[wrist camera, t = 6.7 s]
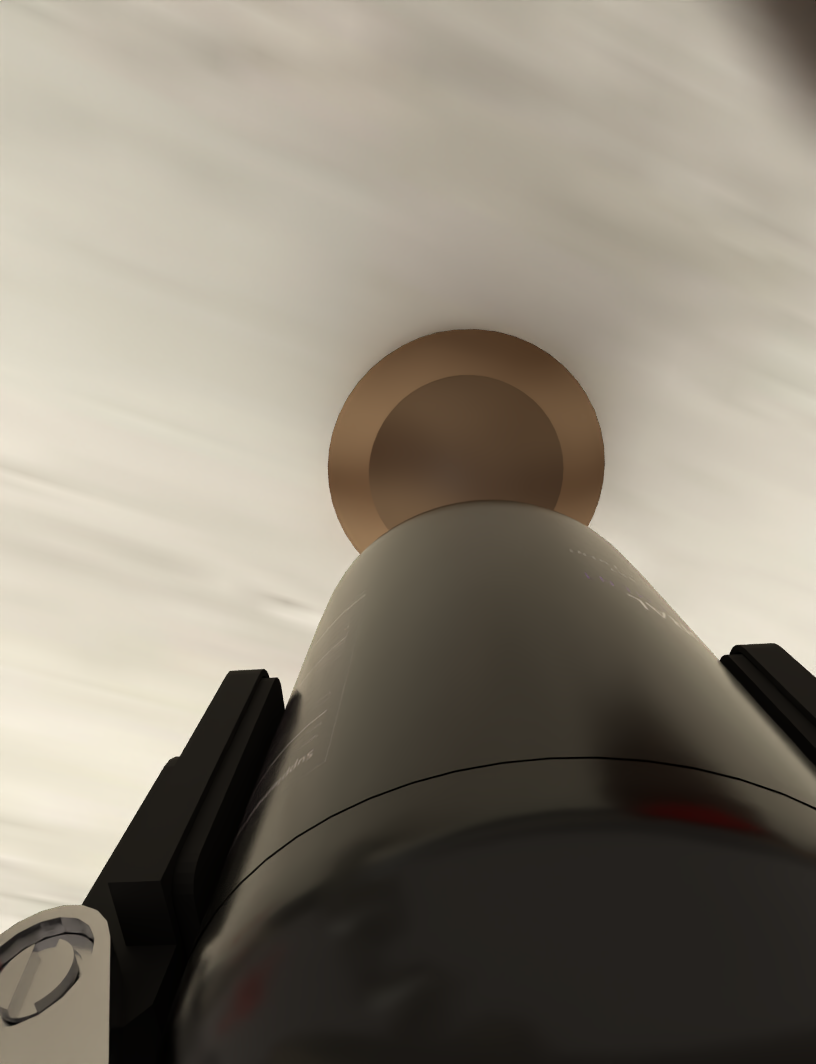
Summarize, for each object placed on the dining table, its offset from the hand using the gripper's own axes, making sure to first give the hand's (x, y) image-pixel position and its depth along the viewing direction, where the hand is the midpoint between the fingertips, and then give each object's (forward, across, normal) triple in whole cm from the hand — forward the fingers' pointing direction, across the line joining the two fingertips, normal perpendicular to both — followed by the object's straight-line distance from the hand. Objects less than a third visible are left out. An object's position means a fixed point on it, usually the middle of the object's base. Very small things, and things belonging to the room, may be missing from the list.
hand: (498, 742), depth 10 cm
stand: (+20, -1, 0) cm, 20 cm away
